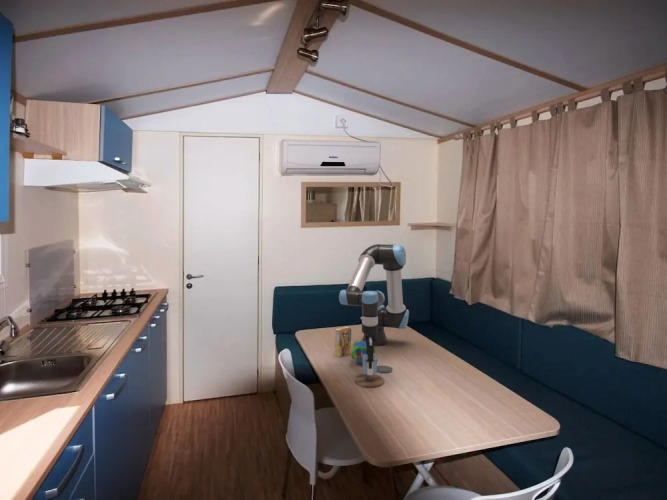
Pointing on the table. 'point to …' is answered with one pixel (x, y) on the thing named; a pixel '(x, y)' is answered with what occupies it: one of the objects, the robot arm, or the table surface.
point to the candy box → (342, 341)
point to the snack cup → (360, 351)
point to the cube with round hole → (365, 357)
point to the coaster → (384, 369)
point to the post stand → (369, 381)
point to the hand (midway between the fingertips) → (369, 371)
